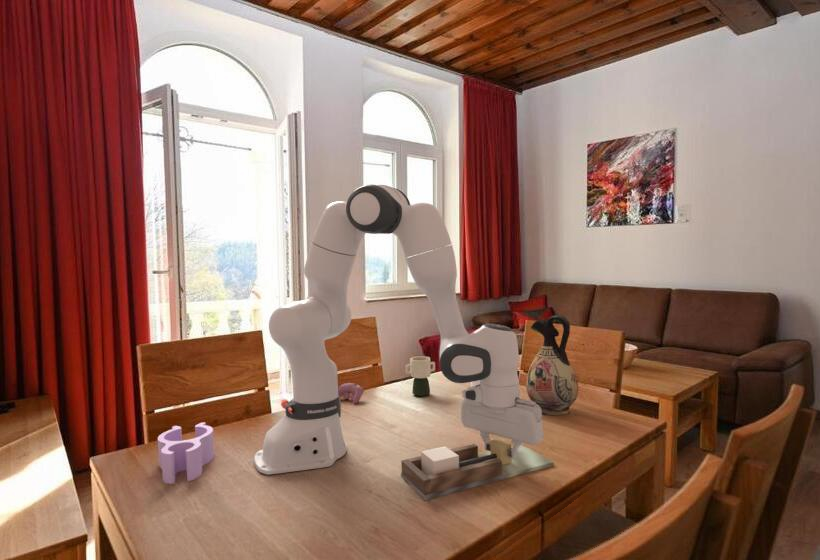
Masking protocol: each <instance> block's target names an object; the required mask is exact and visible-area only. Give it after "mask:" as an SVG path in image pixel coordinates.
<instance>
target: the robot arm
mask: <svg viewBox="0 0 820 560" xmlns="http://www.w3.org/2000/svg"><path fill="white" fill-rule="evenodd" d="M366 234H372V235H373V234H374V235H379V234H381V235H382V234H383V235H389V234H393V235H394V236H396V237H397V239H398V240H399V241H400V244H401V245H400V246H401V247H402V250H403V254H404V257H405V260H406V264H407V267H408V270H409V273H410V275H411V277H412V279H413V280H414V282H415V285H416V286H417V287H418V288H419V289H420V290H421V291H422V293H423V294H424V295H425V296H426V298H427V300H429V302H430V305H431V308H432V311H433V314H434V318H435V321H436V324H437V328H438V331H439V336H440V339H439V345H438V357H439V368H440V371H441V373H442V374H443V376H444V377H445V378H446V379H447V380H449V381H450V382H452V383H455V384H467V383H471V382H473V381H478V380H480V384H479V385H475V386H472V387H471V386H470V387H468V388H464V389H463V390H462V392H461V393H462V399H463V400H462V402H461V407H460V420H461V421H460V422H461V423H462V425H463V427H465V428H469V429H472V430H476V431H479V432H480V437H481V439H482V441H483V443H484V450H485V451H487V452H491V445H490V440H492V439H491V437H490V435H494V436H498V437H501V438H504V439H509V440H511V445H513V448H510V449H509V450H508V457H511V458H514V459H515V458H516V457H517V456H518V448H519V447H520V445H522V443H523V444H527V445H530V446H535V445H537V444H539V443H540V442H542V441H543V439H544V428H543V427H544V426H543V421H542V416H543V413H542V410H541V408H540V407H539V406H538V405H537V404H536V403H535V402H534V401H532V400H529V399H528V400H527V399H524V398H520V380H519V375H518V368H519V364H520V361H519V360H520V359H519V358H520V357H519V353H520V352H519V344H518V338H517V337H518V336H517V335H516V333H515V331H514V330H513V329H512V328H511V327H508V326H506V325H503V324H498V323H485V324H482V325H481V326H480V327H479V328H477V329H475V330H474V331H473V332H471V333H470V332H469V331H468V330H467V328H466V326H465V324H464V321H463V318H462V314H461V310H460V306H459V304H458V300H457V295H456V284H457V275H458V273H457V272H458V271H457V262H456V256H455V251H454V247H453V244H452V243H453V242H452V241H451V237H450V234H449V232H448V229H447V227H446V224H445V222H444V220H443V218H442V216H441V214H440V212H439V210H438V208H437V207H436V206H435V205H433V204H430V203H426V202H417V203H414V204H411V202H410V199H409V198H408V197H407V195H406V194H405V193H404V192H403V191H402V190H400V189H399V188H395V187H392V186H390V185H385V184H377V185H376V184H366V185H362V186H360V187H357V188H356V189H354V191H352V192H351V194H350V195H349V197H348V198H347V200H346V201H335V202H331V203H329V204H328V205H327V206H326V207H325V209H324V210H323V213H322V214H321V216H320V219H319V221H318V224H317V226H316V229H315V231H314V234H313V237H312V240H311V243H310V246H309V251H308V255H307V258H306V261H305V264H304V269H303V273H304V276H305V277H306V279H307V280H308V283H309V285H308V288H309V289H308V290H309V291H308V295H307V297H306V298H305V299H302V300H296V301H290V302H288V303H286V304H284V305H282V306H280V307H278V308H276V309H275V310H274V311H273V312H272V314H271V315H270V317H269V322H268V330H269V334H270V337H271V338H272V340H273V341H274V343H275V344H276V345H278V346H280V347H281V349H282V350H283V351H284V353H285V355H286V357H287V360H288V364H289V367H290V371H291V381H292V396H293V397H292V399H291V400H290V401H289V400H288V399H286V398H285V399H282V400H281V402H280V406H281V407H282V408H283V409H284V412H285V416H283V417H282V418H281V419H280V420H279V421H277V423H275V425H274V426H273V427H271V428H269V430H267V432H266V434H265V436H264V440H263V446H262V449H259V450H258V451H257V452H255V454H254V458H253V464H254V466H255V469H256V470H257V471H258V472H260V473H261V474H264V475H268V476H269V475H275V474H276V475H277V474H278V475H279V474H285V473H291V472H300V471H305V470H307V471H308V470H314V469H321V468H322V469H323V468H328V467H332V466H333V465H334V464H335V462H336V461H337V460H338V459H340V458H342V457H344V456H345V455H346V453H347V451H348V448H347V446H346V443H345V440H344V435H343V431H342V423H341V418H342V417H341V413H342V405H341V404H342V403H341V402H342V401H341V397H340V396H339V395H338V388H339V385H338V384H339V383H338V381H339V380H338V366H337V364H336V363H335V362H334V361H333V360H332V359H331V358H330V357H329V355H328V353H327V350H326V346H325V345H326V344H325V341H326V340H330V339H333V338H336V337H337V336H339V335H340V334H342V333H343V332H345V330H347V329H348V328H349V326H350V324H351V322H352V312H351V309H350V306H349V304H348V287H349V281H350V277H351V274H352V272H353V271H352V270H353V268H354V263H355V260H356V257H357V254H358V251H359V247H360V244H361V241H362V239H363V237H364V236H365V235H366ZM536 406H537V407H536Z"/></svg>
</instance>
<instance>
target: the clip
mask: <svg viewBox="0 0 820 560" xmlns="http://www.w3.org/2000/svg"><path fill="white" fill-rule="evenodd" d="M194 432H195V433H194V434H195V437H193V438H191V439H184V440H183V434H182V433H183V432H182V427H181V426H178V425H173V426H172V427H171V429H168V430H167V431H164V432H162V433H161V434H159V435H158V437H157V449H158V450H157V453H158V466H159V469H160V468H161V470H162V482H163V481H164V482H163V483H165V484H168V483H169V485H173V484H175V483H176V474H177V473H179V472H185V471H186V480H187V482H190V481H193V480H196V479H197V478H199V477H200V476H201V475H202V474H203V466H205V465H207V464H208V463H211V461H213V459H215V442H214V441H215V440H214V428H213V427H212V426H210V425H207V424H206V422H200V423H198V424H196V425H195V426H194ZM184 470H185V471H184ZM174 482H175V483H174ZM172 483H173V484H172Z"/></svg>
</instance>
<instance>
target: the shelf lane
mask: <svg viewBox="0 0 820 560" xmlns="http://www.w3.org/2000/svg"><path fill="white" fill-rule="evenodd" d="M513 446H514V445H513ZM513 446H512V445H511V448H513ZM478 447H479V446H478V445H477V444H475V443H473V444H468V445H465V446H464V445H463V446H460V447H455V448H451V449H450V448H449V449H450V450H451V451H453V452H454V453H456V454H457V455H459V462H462V461H466V460H470V459H474V458H479V457H483V456H487V455H491V451H487V452H483V453H479V448H478ZM400 462H401V472H400V478H402V479H403V480H404V481H405V482H406V483H407V484H408V485H409V486H410V488H412V489H414V491H415V492H416V493H418V495H420V497H421V498H422V499H424V500H425V501H428V500H431V499H435V498H439V497H443V496H446V495H449V494H454V493H457V492H462V491H464V490H467V489H472V488H475V487H479V486H483V485H487V484H490V483H494V482H497V481H501V480H505V479H509V478H512V477H515V476H520V475H524V474H527V473H531V472H534V471H539V470H542V469H546V468H549V467H553V466H555V462H554V461H553V460H551V459H549V458H547V457H545V456H543V455H542V454H540V453H538V452H536V451H534V450H532V449H531V448H529V447H526V446H525V445H523V444H521V445H520V447H519V448H518V456H517V457H516V458H515V459H514V458H512V463H509V464H505V465H502V461H501V460H499V459H494V460H492V459H490V460H486V461H482V462H478V463H474V464H470V465H466V466H462V467H459V468H458V469H454V470H450V471H446V472H442V473H437V474H433V475H429V476H426V475H425V474H424V473H423V472H422V463H421V456H419V455H418V456H416V457H411V458H407V459H402V460H401V461H400Z"/></svg>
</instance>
